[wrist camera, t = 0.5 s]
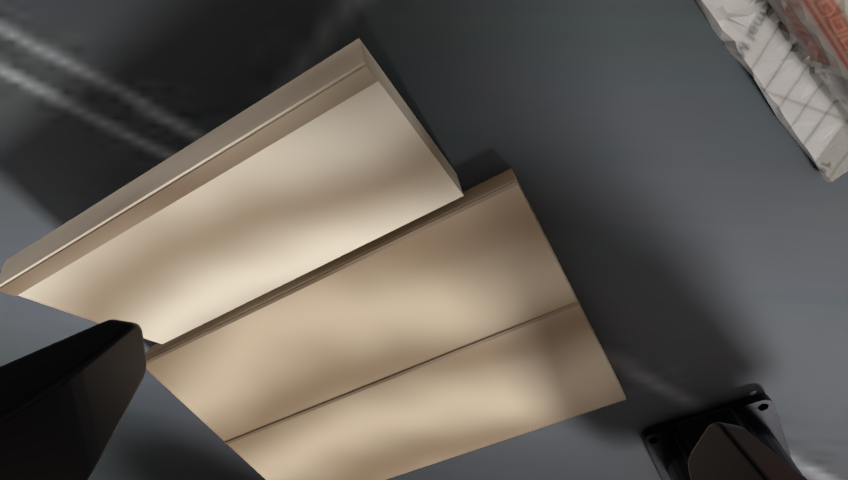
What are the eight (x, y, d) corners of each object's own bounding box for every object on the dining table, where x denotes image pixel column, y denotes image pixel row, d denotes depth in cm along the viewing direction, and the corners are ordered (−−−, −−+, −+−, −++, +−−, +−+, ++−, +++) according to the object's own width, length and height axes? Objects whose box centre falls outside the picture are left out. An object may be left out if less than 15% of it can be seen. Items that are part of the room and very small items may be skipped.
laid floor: (619, 381, 25) (627, 400, 24) (302, 490, 30) (297, 510, 29) (511, 167, 20) (515, 179, 18) (152, 345, 25) (138, 363, 24)
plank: (456, 173, 19) (464, 197, 19) (164, 321, 24) (161, 345, 23) (359, 38, 14) (364, 62, 13) (5, 260, 18) (-6, 289, 18)
